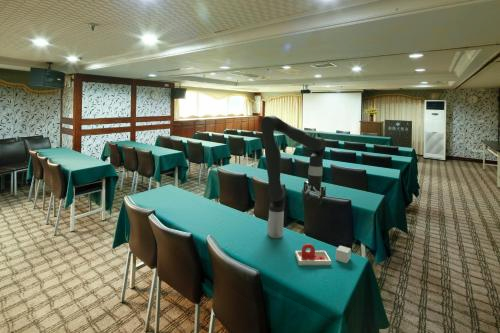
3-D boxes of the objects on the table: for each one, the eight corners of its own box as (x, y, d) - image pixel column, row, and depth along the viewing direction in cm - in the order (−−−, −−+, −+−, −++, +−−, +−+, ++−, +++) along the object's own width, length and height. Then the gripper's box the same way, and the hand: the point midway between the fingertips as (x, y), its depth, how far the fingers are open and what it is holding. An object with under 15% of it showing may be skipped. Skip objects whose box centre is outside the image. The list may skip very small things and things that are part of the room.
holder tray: (295, 254, 154) (295, 250, 154) (324, 254, 155) (325, 250, 154) (299, 265, 144) (299, 260, 143) (330, 265, 144) (331, 260, 144)
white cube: (335, 259, 150) (336, 249, 149) (339, 255, 155) (339, 245, 154) (346, 263, 147) (347, 252, 145) (350, 258, 151) (351, 248, 150)
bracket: (302, 261, 146) (303, 247, 144) (301, 257, 150) (302, 243, 149) (325, 262, 146) (326, 248, 144) (323, 257, 150) (324, 244, 149)
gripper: (301, 172, 157) (299, 199, 161) (320, 177, 146) (318, 206, 149) (310, 170, 162) (308, 197, 165) (330, 175, 150) (327, 204, 154)
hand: (313, 201), depth 157 cm, fingers open, 8 cm apart
